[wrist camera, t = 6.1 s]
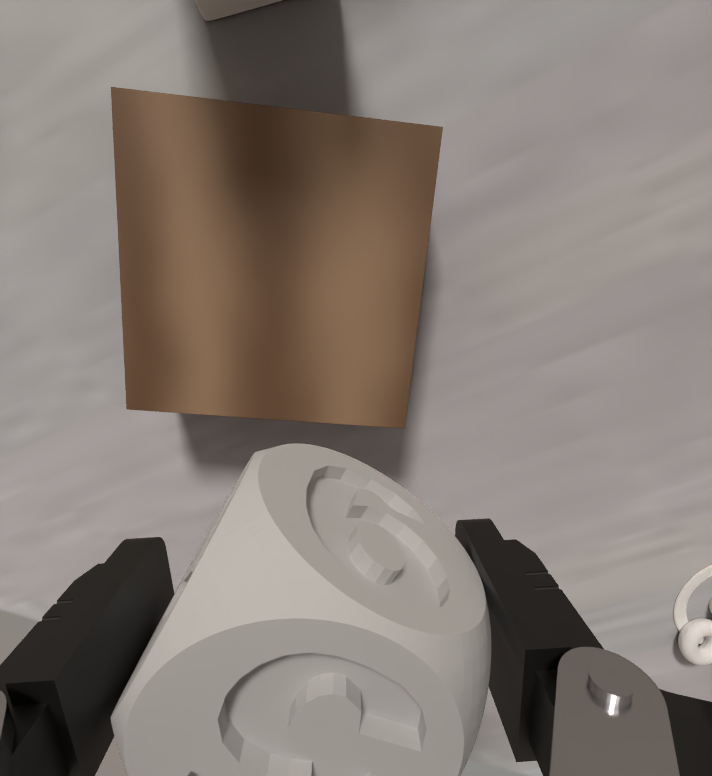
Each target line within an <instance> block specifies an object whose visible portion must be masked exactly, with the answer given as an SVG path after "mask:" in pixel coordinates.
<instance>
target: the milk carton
mask: <svg viewBox="0 0 712 776" xmlns="http://www.w3.org/2000/svg"><path fill="white" fill-rule="evenodd" d="M194 1H195V3H196V5H197V7H198V9H199V11H200V13H201V15H202V17H203V19H204V20H206V21H211V20H215V19H219V18H222V17H226V16H230V15H233V14H237V13H240V12H244V11H247V10H251V9H254V8H258V7H261V6H265V5H268V4H272V3H275V2H279V1H282V0H194Z"/></svg>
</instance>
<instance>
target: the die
mask: <svg viewBox="0 0 712 776" xmlns="http://www.w3.org/2000/svg"><path fill="white" fill-rule="evenodd" d="M490 668H491V627H490V618H489V611H488V606H487V601H486V596H485V591H484V587H483V584H482V581H481V578H480V576H479V573H478V571H477V569H476V567H475V565H474V563H473V562H472V560H471V558H470V557H469V555H468V553H467V552H466V550H465V549H464V548H463V546H462V545H461V543H460V542H459V541H458V540H457V538H456V537H455V536H454V535H453V533H452V532H451V531H450V530H449V529H448V528H447V527H446V525H445V524H444V523H443V522H442V521H441V520H440V519H439V518H438V517H437V516H436V515H435V514H434V513H433V512H432V511H431V510H430V509H429V508H427V507H426V506H425V505H424V504H423V503H422V502H421V501H419V500H418V499H417V498H416V497H415V496H413V495H412V494H411V493H410V492H408V491H407V490H406V489H404V488H403V487H402V486H400V485H399V484H398V483H396V482H395V481H393V480H392V479H390V478H389V477H387V476H385V475H384V474H382V473H381V472H379V471H377V470H376V469H374V468H372V467H370V466H368V465H367V464H365V463H363V462H361V461H359V460H356V459H354V458H352V457H350V456H347V455H345V454H343V453H340V452H337V451H334V450H331V449H328V448H324V447H320V446H316V445H310V444H299V443H294V444H285V445H280V446H276V447H273V448H269V449H265V450H261V451H257V452H255V453H254V454H253V455H252V457H251V458H250V460H249V462H248V463H247V465H246V467H245V468H244V470H243V472H242V473H241V475H240V477H239V479H238V480H237V482H236V484H235V486H234V487H233V489H232V491H231V493H230V494H229V496H228V498H227V500H226V501H225V503H224V505H223V507H222V509H221V510H220V512H219V514H218V516H217V517H216V519H215V521H214V523H213V525H212V526H211V528H210V530H209V532H208V534H207V535H206V537H205V539H204V541H203V543H202V544H201V546H200V548H199V550H198V552H197V554H196V555H195V557H194V559H193V561H192V563H191V565H190V566H189V568H188V570H187V572H186V574H185V576H184V577H183V579H182V581H181V583H180V585H179V587H178V588H177V590H176V592H175V594H174V596H173V598H172V600H171V601H170V603H169V605H168V607H167V609H166V611H165V613H164V614H163V616H162V618H161V620H160V622H159V624H158V626H157V628H156V629H155V631H154V633H153V635H152V637H151V639H150V641H149V643H148V645H147V646H146V648H145V650H144V652H143V654H142V656H141V658H140V660H139V662H138V664H137V665H136V667H135V669H134V671H133V673H132V675H131V677H130V679H129V681H128V683H127V685H126V687H125V689H124V691H123V693H122V695H121V697H120V699H119V701H118V703H117V705H116V707H115V709H114V711H113V713H112V715H111V724H112V728H113V732H114V736H115V740H116V745H117V748H118V751H119V755H120V757H121V760H122V763H123V766H124V769H125V771H126V774H127V776H460V775H461V773H462V771H463V769H464V767H465V765H466V763H467V761H468V758H469V756H470V754H471V751H472V749H473V746H474V743H475V740H476V737H477V734H478V731H479V728H480V724H481V720H482V716H483V712H484V708H485V703H486V698H487V692H488V686H489V678H490Z"/></svg>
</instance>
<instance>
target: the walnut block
mask: <svg viewBox="0 0 712 776" xmlns="http://www.w3.org/2000/svg"><path fill="white" fill-rule="evenodd" d="M111 97H112V118H113V138H114V159H115V179H116V200H117V220H118V241H119V261H120V282H121V303H122V323H123V344H124V364H125V385H126V405H127V409H130V410H145V411H159V412H173V413H188V414H202V415H217V416H231V417H246V418H260V419H275V420H289V421H304V422H318V423H333V424H347V425H362V426H376V427H391V428H405V423H406V415H407V407H408V399H409V391H410V383H411V375H412V367H413V359H414V351H415V343H416V335H417V327H418V319H419V312H420V304H421V296H422V288H423V280H424V272H425V264H426V256H427V248H428V240H429V232H430V224H431V216H432V209H433V201H434V193H435V185H436V177H437V169H438V161H439V153H440V145H441V137H442V129H443V127H438V126H430V125H422V124H414V123H405V122H397V121H389V120H381V119H372V118H364V117H356V116H347V115H339V114H331V113H323V112H314V111H306V110H298V109H290V108H281V107H273V106H265V105H256V104H248V103H240V102H232V101H223V100H215V99H207V98H199V97H190V96H182V95H174V94H165V93H157V92H149V91H141V90H132V89H124V88H116V87H111Z"/></svg>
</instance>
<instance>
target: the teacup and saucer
mask: <svg viewBox="0 0 712 776" xmlns="http://www.w3.org/2000/svg"><path fill="white" fill-rule="evenodd" d="M711 576H712V565H710V566H708V567H706V568H704V569H703V570H701V571H700V572H698V573H697V574H695V575H694V576H693V577H692V578H691V579H690V580H689V581H688V582H687V583H686V584H685V585H684V587H683V588H682V589H681V591H680V593H679V595H678V597H677V599H676V602H675V605H674V621H675V624H676V627H677V629H678V630H679V632H680V634H679V638H678V645H679V649H680V651H681V653H682V654H683V656H684V657H685V658H686V659H687V660H688V661H689V662H691V663H693V664H696V665H709V664H711V663H712V620H709V619H705V618H697V619H694V620H691V621H690V622H689V621H688V619H687V616H686V605H687V602H688V599H689V597H690V595H691V594H692V592H693V591H694V589H695V588H696V587H697V586H698V585H699V584H700V583H701V582H703V581H704V580H705V579H707V578H709V577H711ZM709 608H710V611H711V613H712V598H711V599H710V602H709ZM698 644H702V645H700V646H699V647H698Z"/></svg>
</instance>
